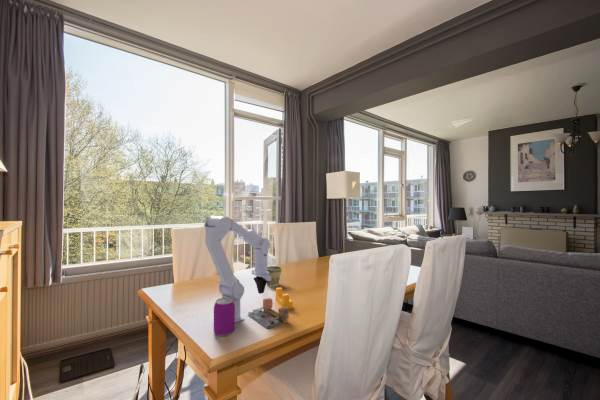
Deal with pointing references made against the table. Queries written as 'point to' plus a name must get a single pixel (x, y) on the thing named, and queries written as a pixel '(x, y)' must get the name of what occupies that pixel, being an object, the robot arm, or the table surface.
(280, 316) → the trammel bar
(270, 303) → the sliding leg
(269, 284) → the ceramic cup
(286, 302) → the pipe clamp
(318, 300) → the table surface
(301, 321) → the table surface
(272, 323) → the strip
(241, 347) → the table surface
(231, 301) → the beverage can
